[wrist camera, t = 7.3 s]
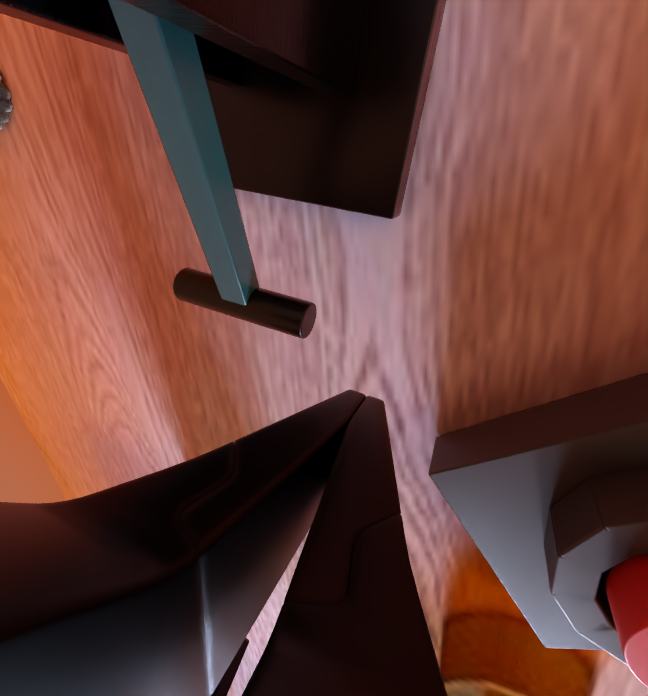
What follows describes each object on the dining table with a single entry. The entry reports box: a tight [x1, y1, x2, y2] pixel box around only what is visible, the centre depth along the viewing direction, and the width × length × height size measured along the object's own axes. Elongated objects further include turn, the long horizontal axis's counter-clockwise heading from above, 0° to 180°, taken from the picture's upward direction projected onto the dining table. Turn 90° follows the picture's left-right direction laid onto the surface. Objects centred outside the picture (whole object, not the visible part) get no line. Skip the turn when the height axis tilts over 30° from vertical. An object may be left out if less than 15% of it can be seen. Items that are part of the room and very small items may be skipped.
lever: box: [108, 0, 316, 338], centre depth 9 cm, size 12×6×2 cm, turn 173°
